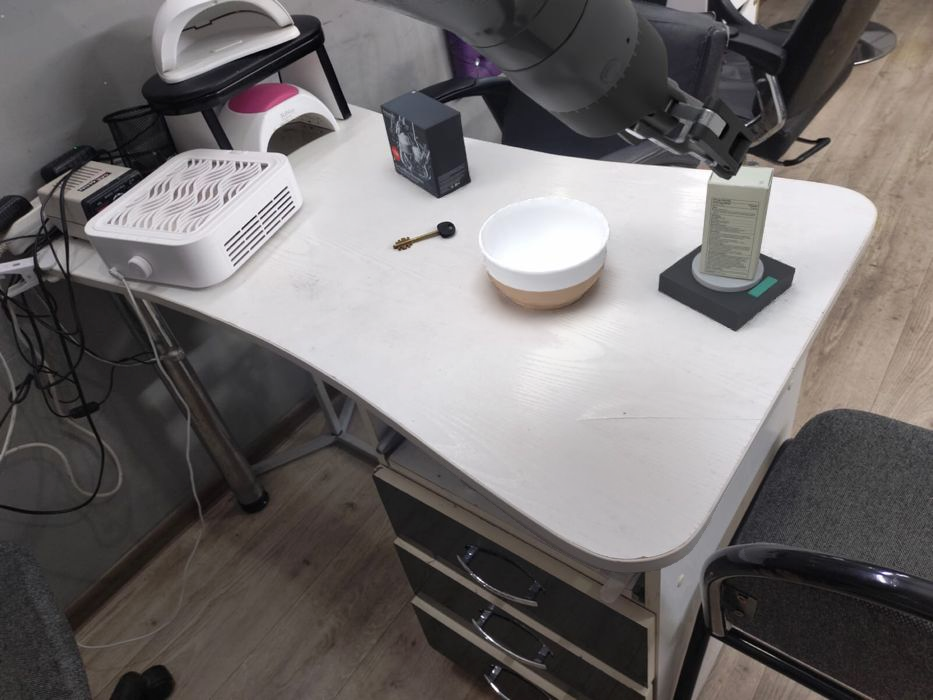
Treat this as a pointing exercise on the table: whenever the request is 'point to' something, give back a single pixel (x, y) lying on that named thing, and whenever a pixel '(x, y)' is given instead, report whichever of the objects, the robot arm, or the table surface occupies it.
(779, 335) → the table surface
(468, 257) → the table surface
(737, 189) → the cosmetic box
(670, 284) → the scale
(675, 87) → the robot arm
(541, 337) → the table surface
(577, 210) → the bowl
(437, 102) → the small box
